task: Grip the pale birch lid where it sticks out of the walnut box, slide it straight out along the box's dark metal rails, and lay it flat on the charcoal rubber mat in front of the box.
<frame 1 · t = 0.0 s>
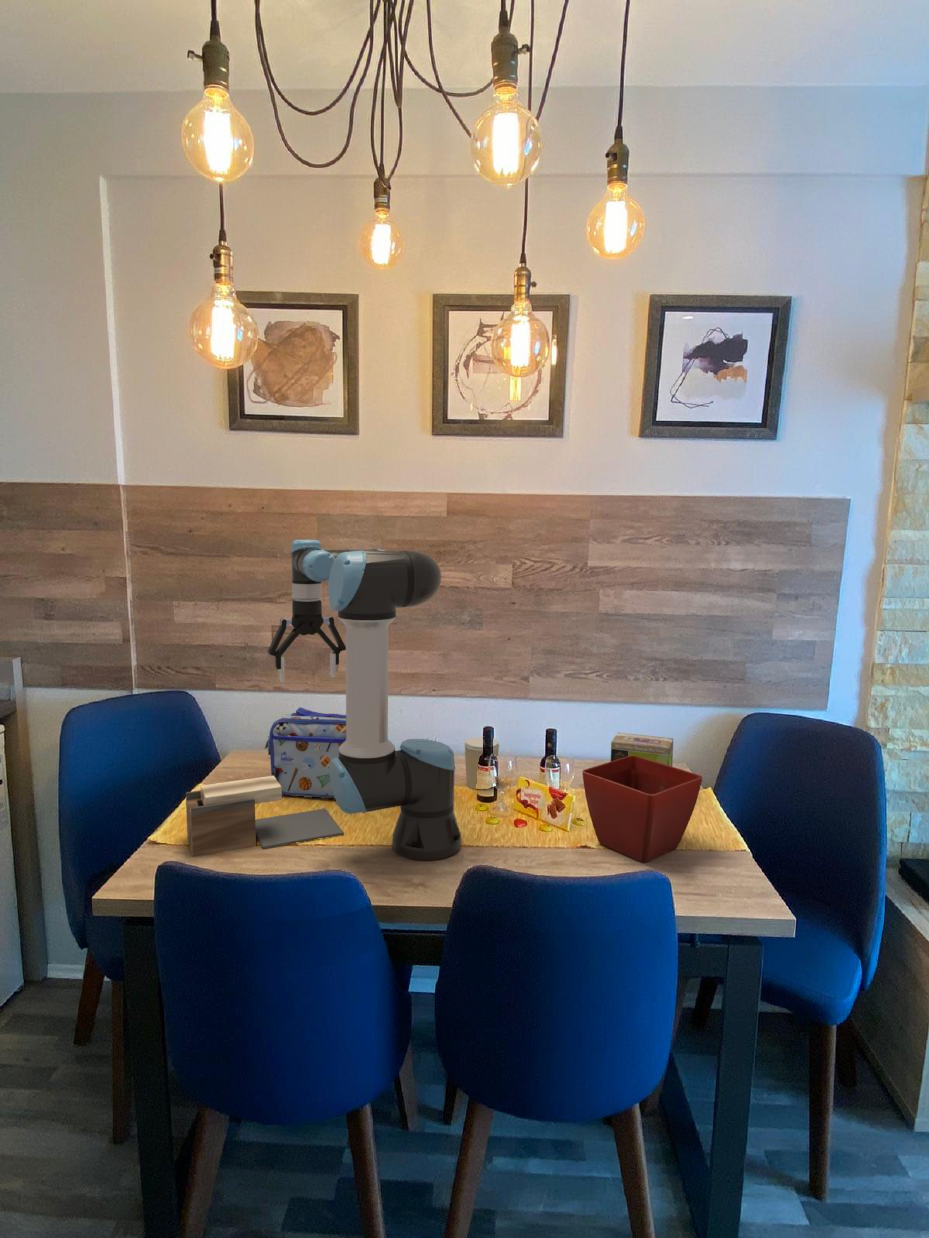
hand: (307, 679, 200), 28 cm above the table, tool pointing down, fingers open, 13 cm apart
plant pot: (637, 846, 168), on the table
tea box: (640, 793, 199), on the table
walnut box: (221, 841, 166), on the table
lunch box: (320, 794, 195), on the table
coffee cup: (480, 785, 203), on the table
charcoal mat: (295, 828, 173), on the table
birch lid: (241, 799, 167), point 9 cm above the table, touching walnut box
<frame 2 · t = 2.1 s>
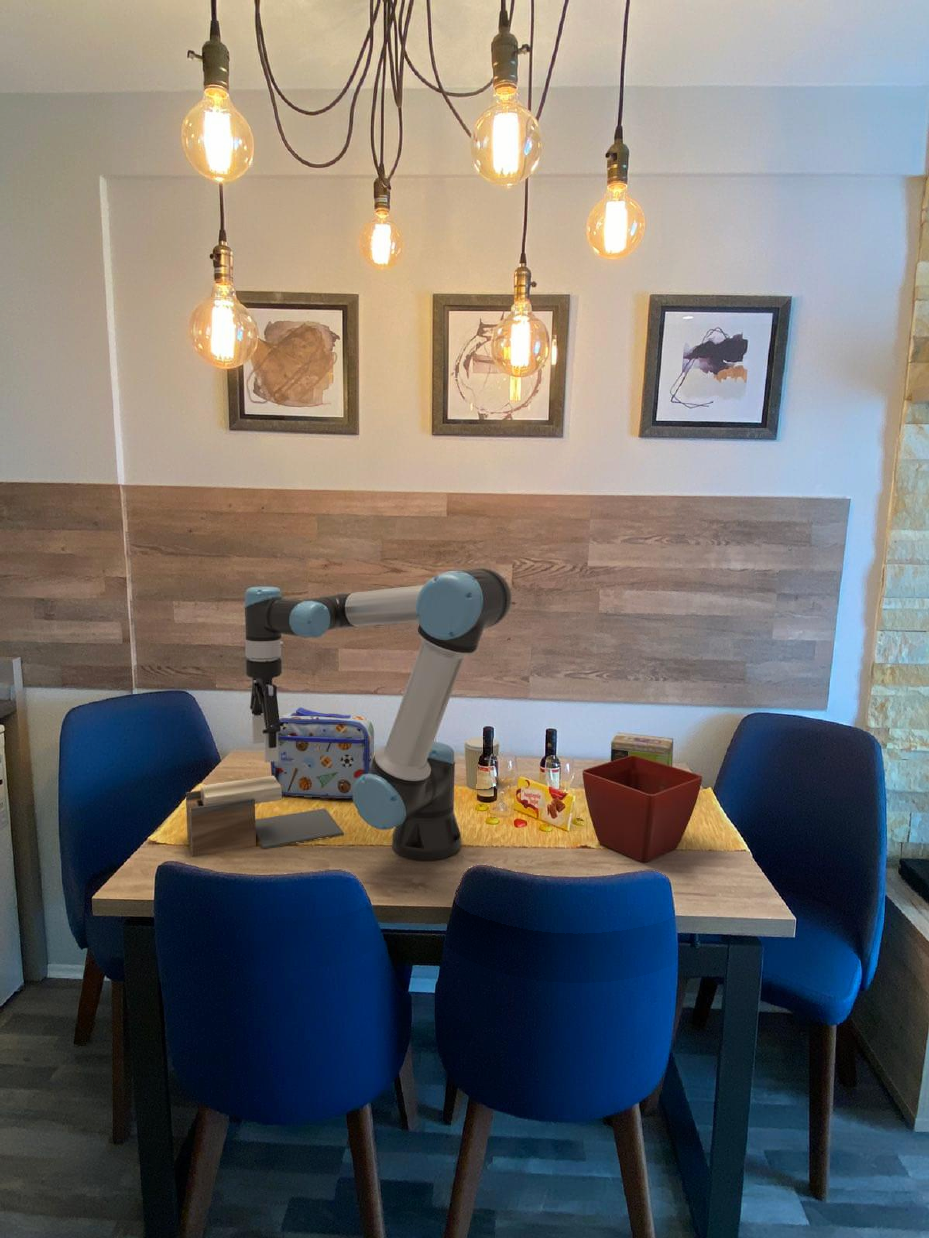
hand: (265, 751, 168), 19 cm above the table, tool pointing down, fingers open, 13 cm apart
nothing on the table moved.
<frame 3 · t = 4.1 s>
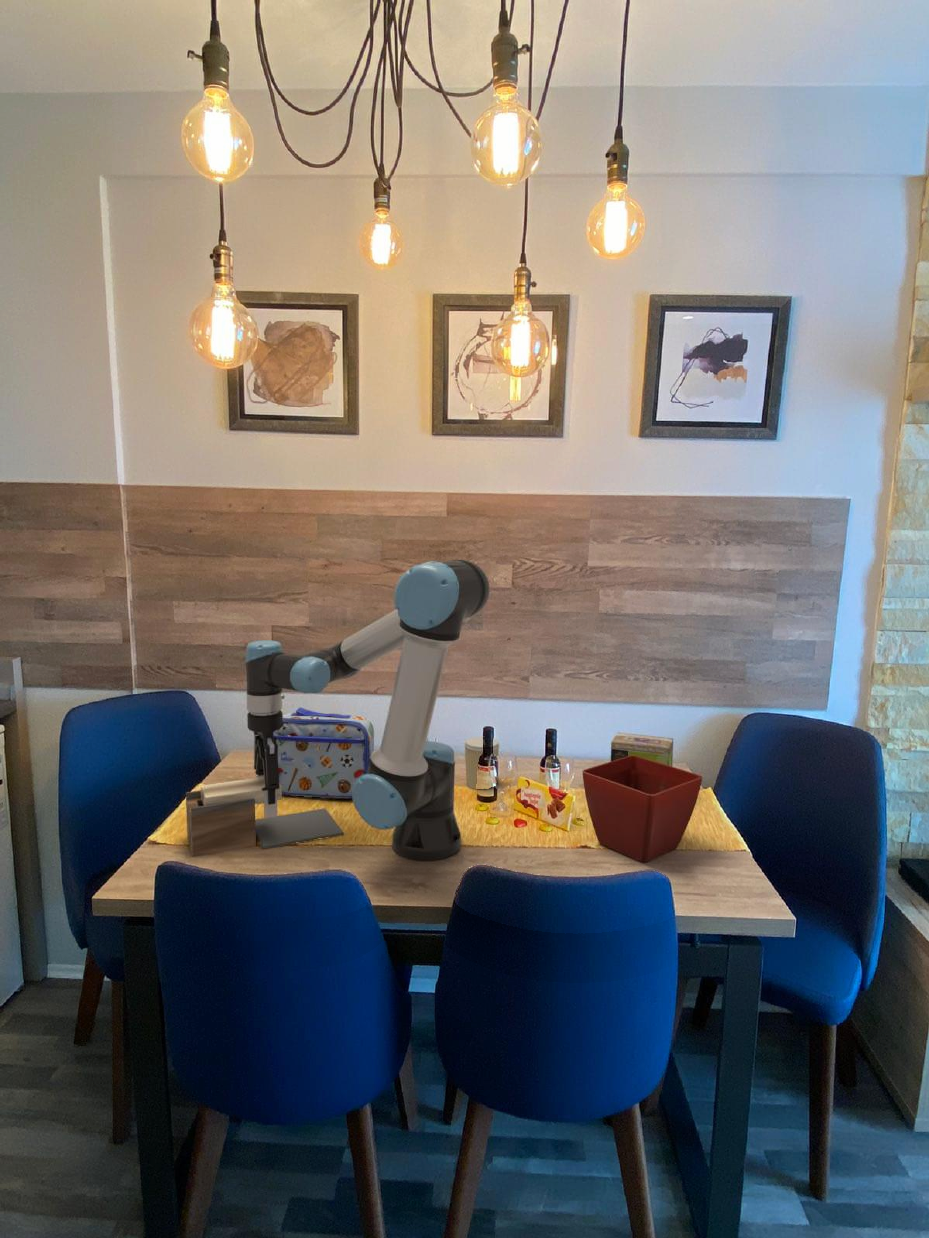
hand: (266, 809, 169), 6 cm above the table, tool pointing down, fingers closed on birch lid, 8 cm apart
birch lid: (241, 799, 167), point 9 cm above the table, touching gripper, walnut box
everything else where it was.
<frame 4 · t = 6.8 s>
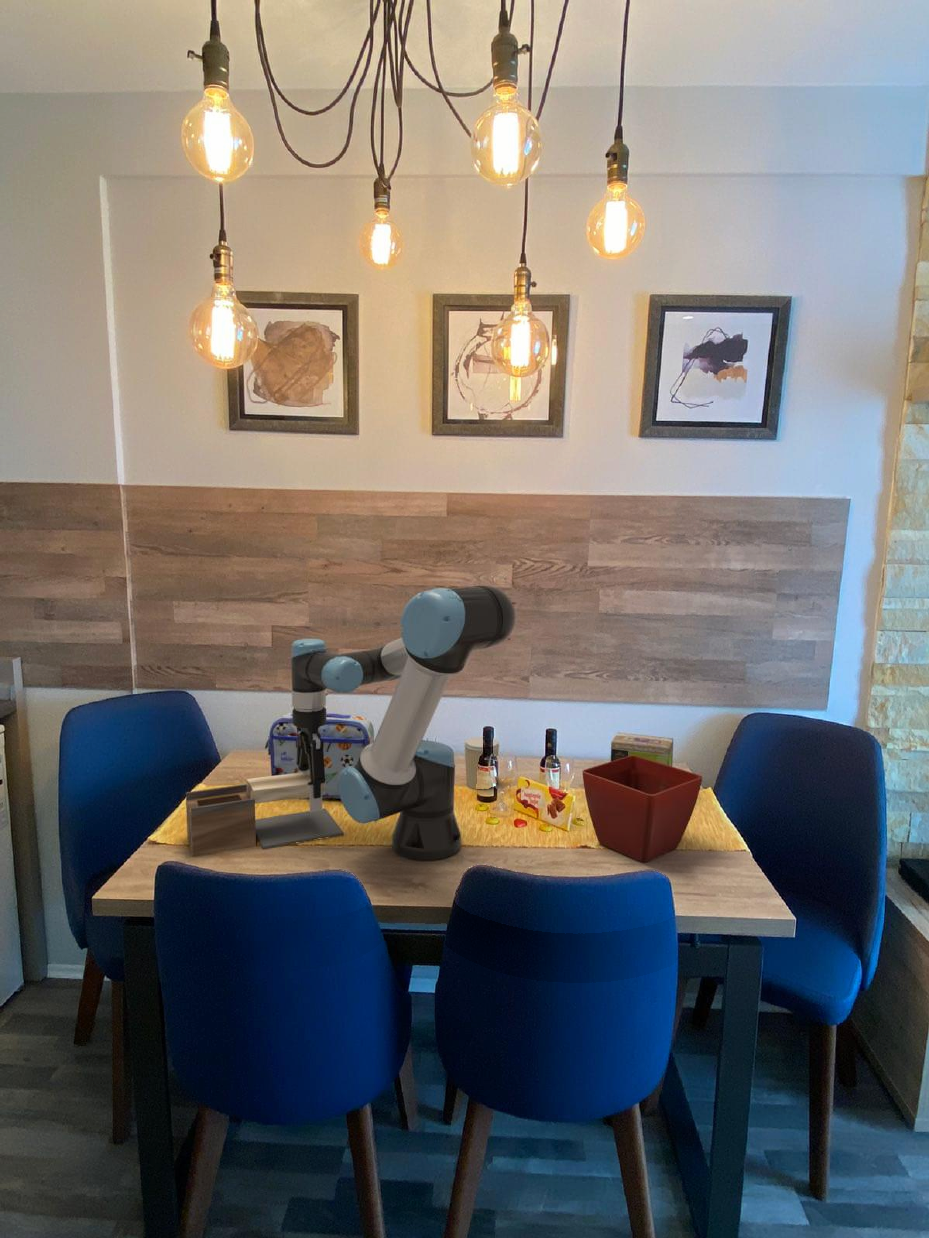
hand: (310, 803, 174), 6 cm above the table, tool pointing down, fingers closed on birch lid, 8 cm apart
birch lid: (286, 793, 171), point 9 cm above the table, touching gripper
everything else where it was.
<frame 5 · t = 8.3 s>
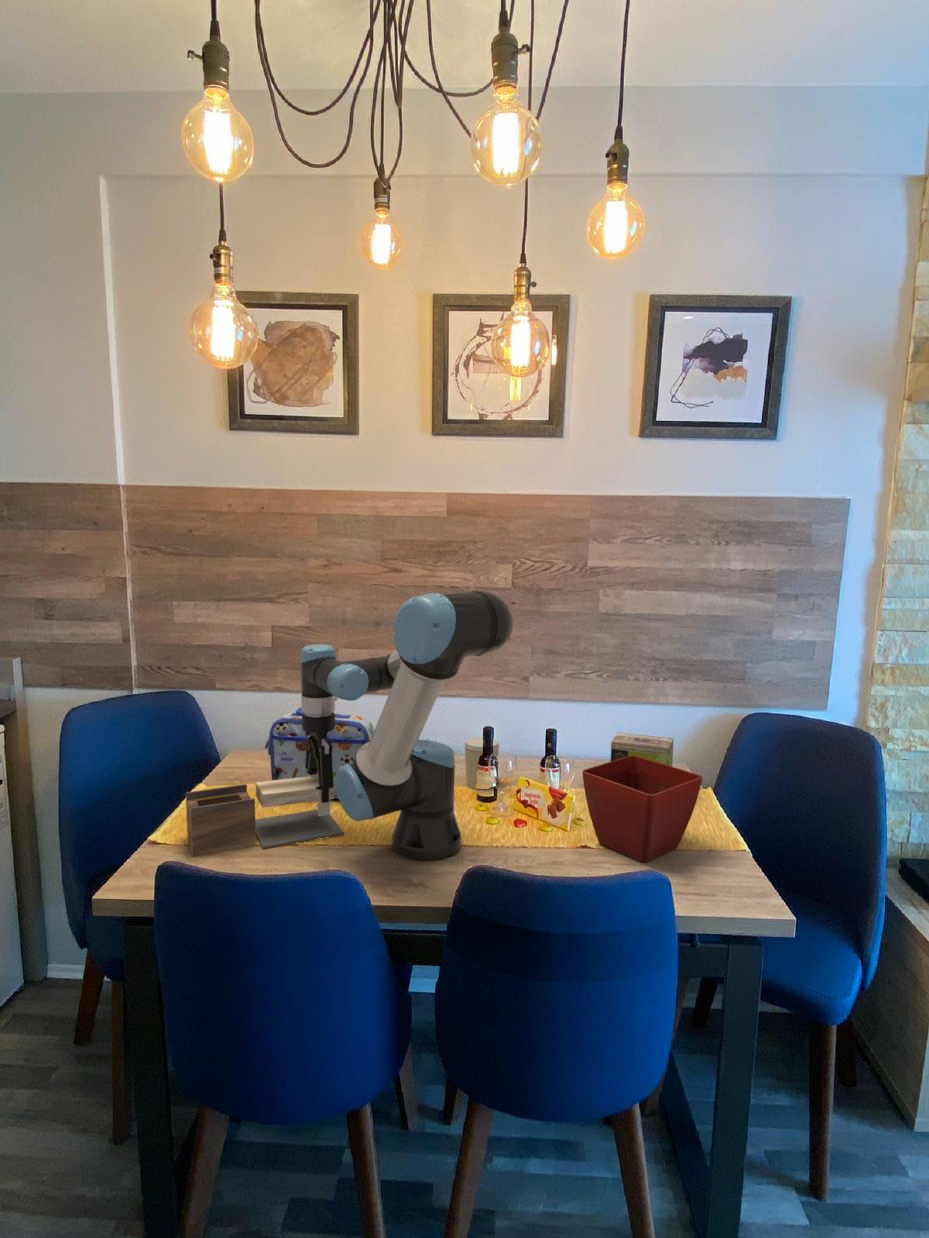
hand: (318, 807, 175), 4 cm above the table, tool pointing down, fingers closed on birch lid, 8 cm apart
birch lid: (294, 796, 172), point 8 cm above the table, touching gripper
everything else where it was.
when the fingers open (2 cm above the table, at t = 9.4 s): birch lid drops 5 cm, resting on charcoal mat.
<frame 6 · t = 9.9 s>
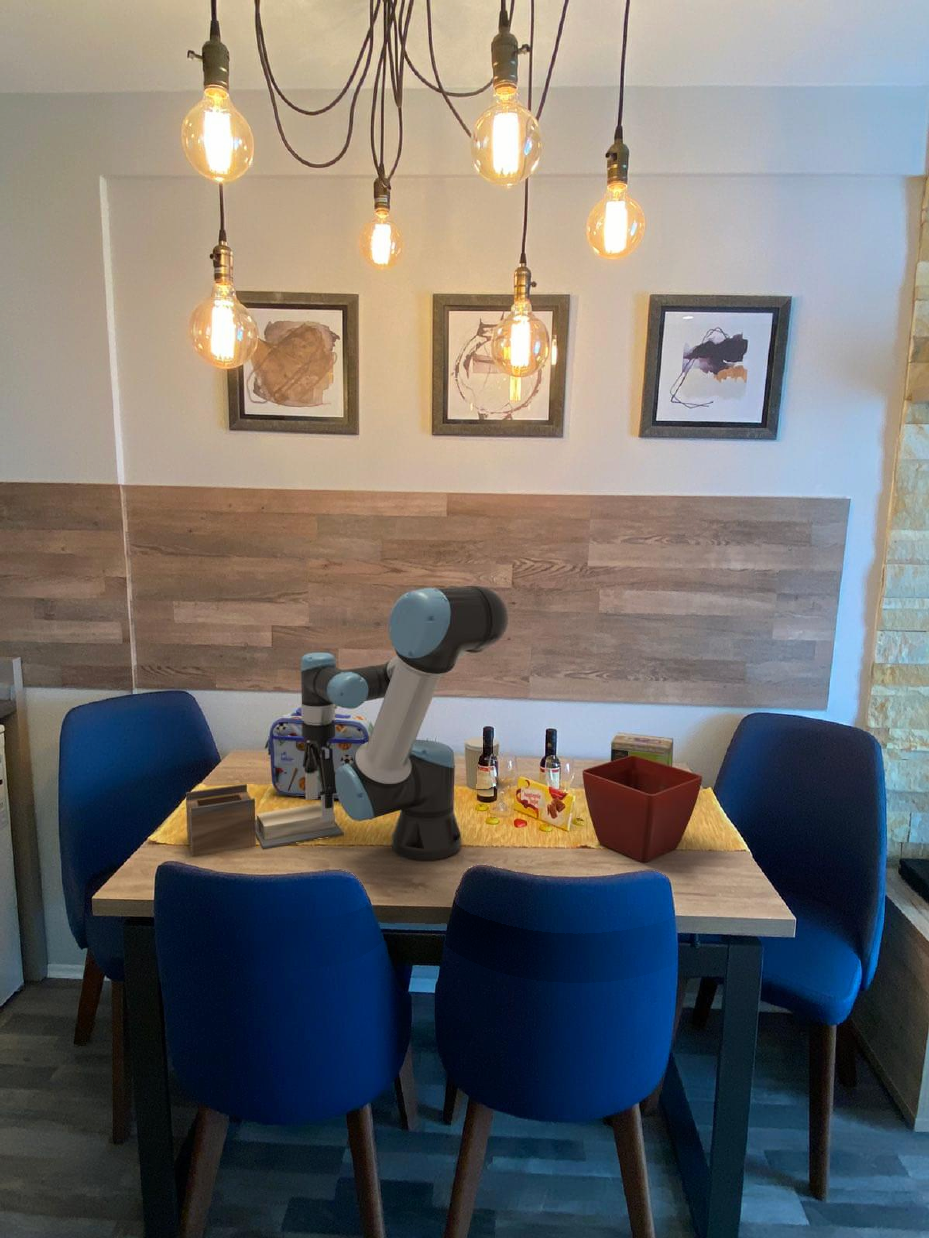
hand: (319, 809, 175), 4 cm above the table, tool pointing down, fingers open, 13 cm apart
birch lid: (296, 826, 173), point 1 cm above the table, touching charcoal mat
everything else where it was.
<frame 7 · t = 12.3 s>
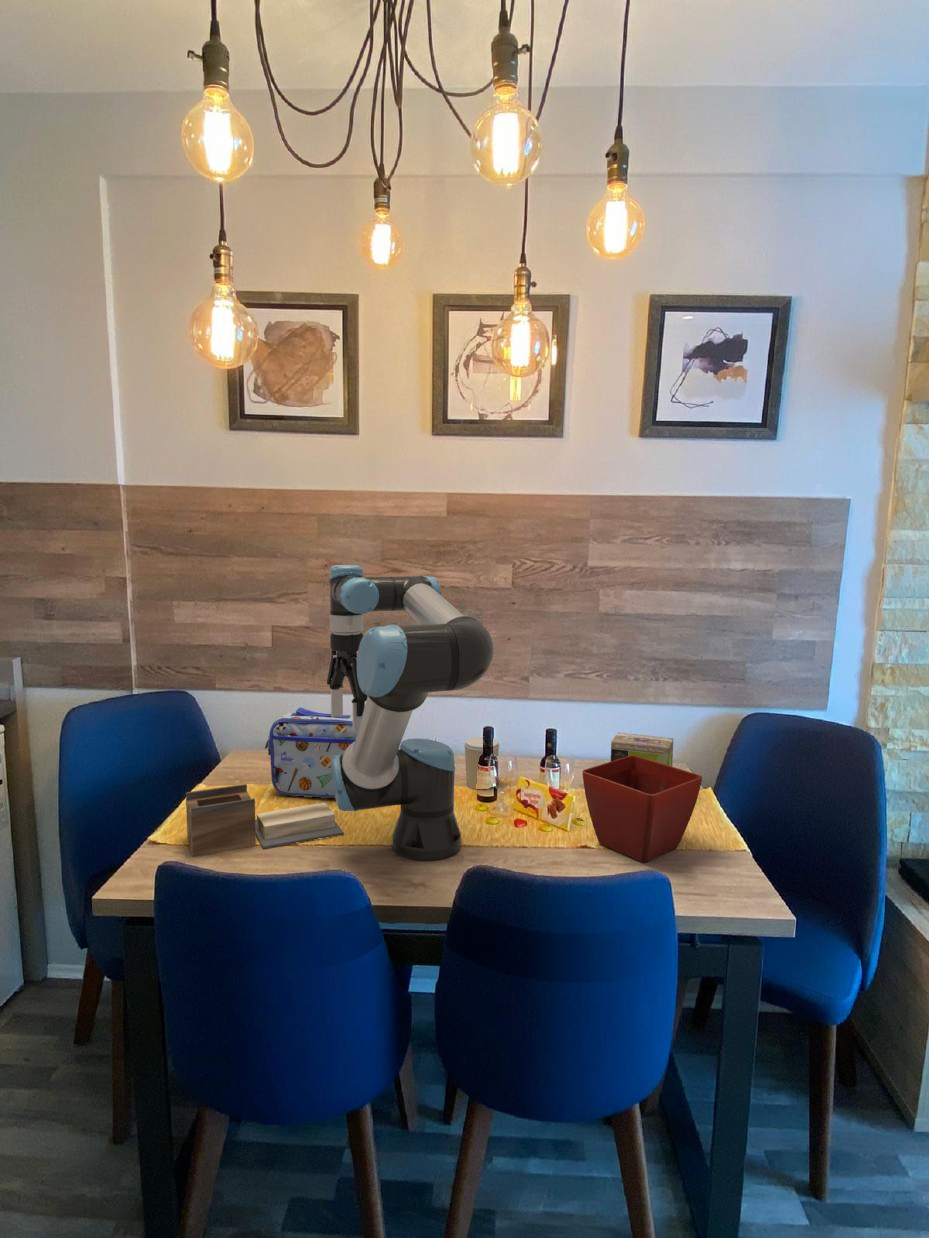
hand: (347, 722, 176), 24 cm above the table, tool pointing down, fingers open, 13 cm apart
nothing on the table moved.
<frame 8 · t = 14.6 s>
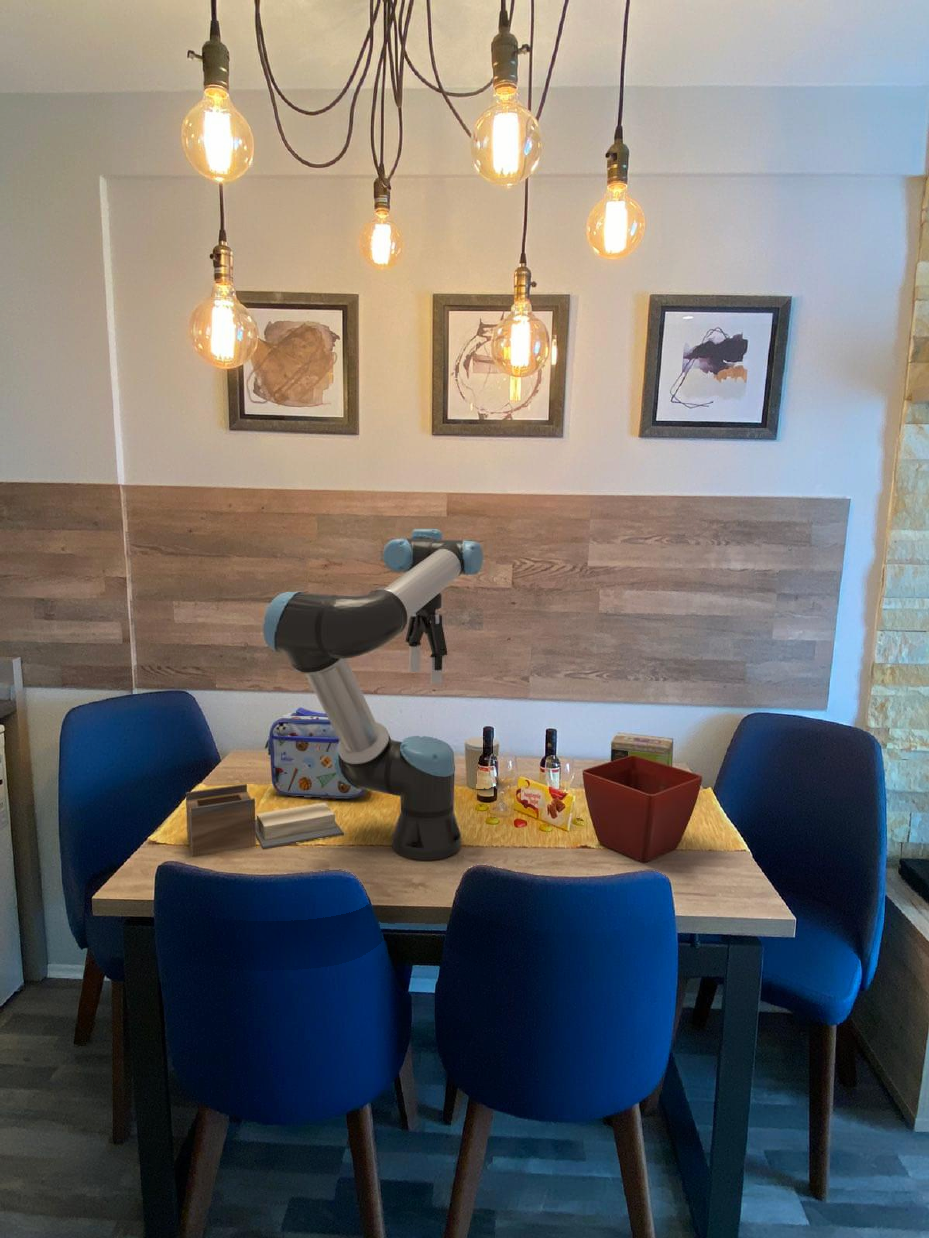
hand: (425, 677, 188), 32 cm above the table, tool pointing down, fingers open, 13 cm apart
nothing on the table moved.
at the end: birch lid inside the target area on the charcoal mat (0.1 cm from its centre), point 0.6 cm above the charcoal mat's base; birch lid tilted 0°; the gripper is holding nothing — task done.
